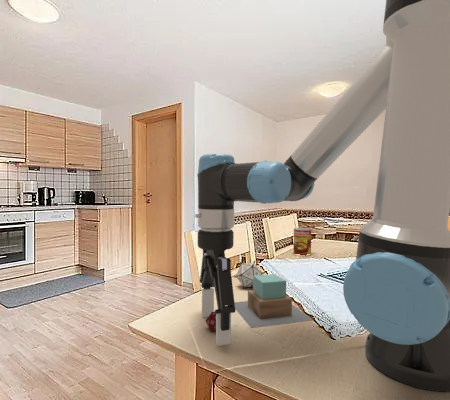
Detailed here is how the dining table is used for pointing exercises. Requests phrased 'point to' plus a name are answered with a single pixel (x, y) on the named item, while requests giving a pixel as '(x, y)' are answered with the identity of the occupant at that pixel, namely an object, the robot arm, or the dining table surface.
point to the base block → (269, 306)
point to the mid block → (269, 286)
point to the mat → (256, 322)
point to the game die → (247, 274)
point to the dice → (211, 321)
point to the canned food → (302, 241)
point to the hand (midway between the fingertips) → (214, 329)
